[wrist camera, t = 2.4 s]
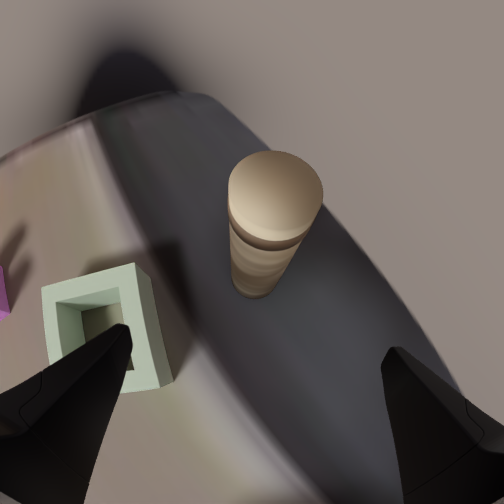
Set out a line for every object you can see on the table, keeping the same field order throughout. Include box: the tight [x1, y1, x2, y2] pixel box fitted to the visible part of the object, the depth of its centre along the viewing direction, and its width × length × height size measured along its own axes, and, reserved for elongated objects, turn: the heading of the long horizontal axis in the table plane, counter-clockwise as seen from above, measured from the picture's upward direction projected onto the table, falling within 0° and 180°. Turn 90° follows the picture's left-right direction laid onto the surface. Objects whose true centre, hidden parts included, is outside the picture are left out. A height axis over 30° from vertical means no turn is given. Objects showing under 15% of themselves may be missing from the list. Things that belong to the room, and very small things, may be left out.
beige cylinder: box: [228, 151, 323, 299], centre depth 16 cm, size 4×4×12 cm
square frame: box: [41, 262, 174, 393], centre depth 17 cm, size 8×8×4 cm
